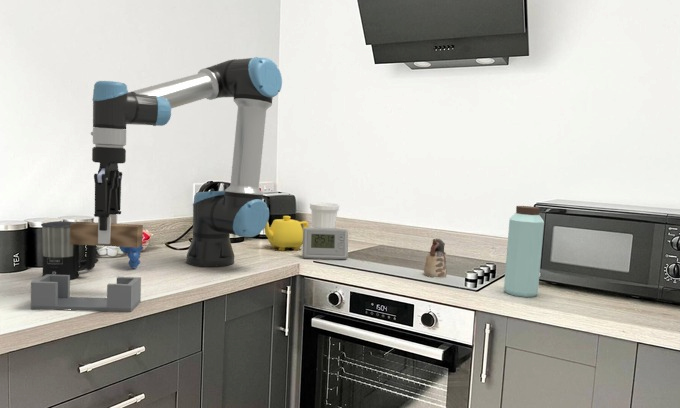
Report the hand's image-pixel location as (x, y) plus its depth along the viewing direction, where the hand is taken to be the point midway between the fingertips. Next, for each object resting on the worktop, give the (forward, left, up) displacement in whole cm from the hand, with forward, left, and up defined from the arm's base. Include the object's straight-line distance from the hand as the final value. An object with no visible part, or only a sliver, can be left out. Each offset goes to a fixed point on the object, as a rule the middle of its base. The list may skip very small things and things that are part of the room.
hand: (107, 241), depth 139 cm
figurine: (-91, -33, -13) cm, 98 cm away
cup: (-58, -94, -13) cm, 112 cm away
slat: (0, 0, -1) cm, 1 cm away
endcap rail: (+1, +11, -13) cm, 17 cm away
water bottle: (-111, -13, -13) cm, 113 cm away
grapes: (+3, -30, -13) cm, 33 cm away
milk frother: (+16, -19, -13) cm, 28 cm away
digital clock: (-57, -55, -13) cm, 80 cm away
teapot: (-42, -71, -13) cm, 84 cm away
